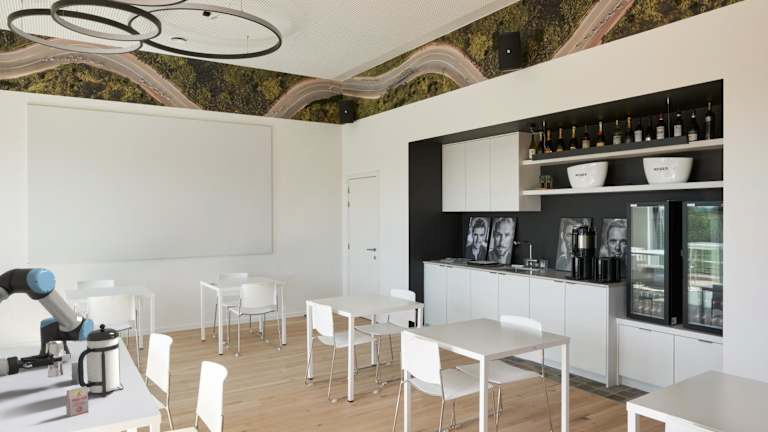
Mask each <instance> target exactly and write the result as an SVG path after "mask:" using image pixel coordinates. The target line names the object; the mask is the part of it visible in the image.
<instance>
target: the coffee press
mask: <svg viewBox="0 0 768 432" xmlns="http://www.w3.org/2000/svg"><path fill="white" fill-rule="evenodd" d="M119 336H120V333H119V332H118V331H117V330H116V329H114V328H109V327H108V328H107V327H106V324H105V323H101V324H100V325H99V328H98V329H94V331H92V332H90V333H89V334H88V335H87V337H86V341H85V342H86V349H84V350H83V351H82V352H81V353H80V354H79V357H78V359H77V360H78V361H77V363H78V380H79V384H78V385H79V386H80V387H85V386H87V391H88V390H89V392H87V394H88V396H90V394H91V393H93V394H94V393H96V394H102V398H105V397H107V392H111V391H114V390H116V389H119V390H121V391H123V390H124V385H123V384H122V382H121V379H120V373H121V371H120V370H121V367H120V365H121V363H120V342H119ZM85 357H87V359H86V367H87V368H86V369H87V370H86V371H87V383H86V382H85V378H84V377H85V374H84V373H85V372H84V371H85V370H84V359H85ZM119 386H121V387H122V388H121V387H119Z"/></svg>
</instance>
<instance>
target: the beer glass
mask: <svg viewBox="0 0 768 432" xmlns="http://www.w3.org/2000/svg"><path fill="white" fill-rule="evenodd" d="M60 355H64V346H63V341H52V342H48V343H46V358H53V357H55V356H60ZM63 362H64V361H62V362H57V363H54V365H48V366H47V368H48V369H47V370H48V371H47V377H48V378H58V377H61V376H63V375H64V371H63Z"/></svg>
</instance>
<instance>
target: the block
mask: <svg viewBox="0 0 768 432" xmlns="http://www.w3.org/2000/svg"><path fill="white" fill-rule="evenodd" d="M71 381H72V382H74V384H76V385H80V384H79V380H78V362H73V363H71Z"/></svg>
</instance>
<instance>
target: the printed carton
mask: <svg viewBox="0 0 768 432" xmlns="http://www.w3.org/2000/svg"><path fill="white" fill-rule="evenodd" d="M87 389H88V388H87V386H85V387H81V386H80V387H77V388H76V387H75V388H73V389H68V390H66V398H65V407H66V408H65V409H66V411H65V413H66V416H67V417H68V418H72V417H76V416H79V415H83V414H87V413H89V412H90V411H89V395H88V390H87Z"/></svg>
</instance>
